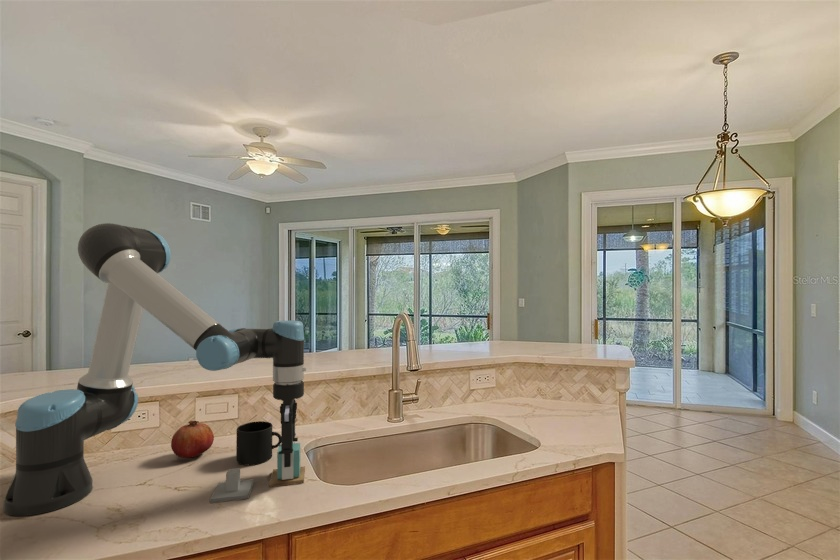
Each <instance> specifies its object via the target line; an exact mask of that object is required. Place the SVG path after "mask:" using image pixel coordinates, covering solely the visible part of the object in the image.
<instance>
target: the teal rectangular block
mask: <svg viewBox="0 0 840 560" xmlns="http://www.w3.org/2000/svg"><path fill="white" fill-rule="evenodd" d="M277 448H278V449H277V452H276V453H277V456H276V459H277V463H276V464H277V466H276V467H277V468H276V469H277V479H282V454H279V451H281V444H280V445H279V446H278V447H277ZM300 467H301V442H293V478H294V477H299V475H300Z"/></svg>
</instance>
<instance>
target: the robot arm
mask: <svg viewBox="0 0 840 560" xmlns="http://www.w3.org/2000/svg"><path fill="white" fill-rule="evenodd" d="M171 252H172V251H171V248H170V246H169V244H168V242H167V240H166V238H164V237H163V236H162V235H160V234H159V233H157V232H154V231H151V230H147V229H145V228H138V227H132V226H127V225H126V226H125V225H121V224H118V223H110V222H109V223H108V222H107V223H106V222H105V223H99V224H96V225H94V226H92V227H89V228H88V229H86V230H85V231H84V232H83V233H82V235H81V236H80V237H79V240H78V242H77V254H78V256H79V259H80V261H81V263H82V264H83V265H84V267H86V269H87V270H88V271H89V272H91V273H92V274H93V275H94V276H95V277H96V278H98V279H99V280H100V281H101V282H103V283H106V284H107V289H106V292H105V297H104V300H103V305H102V309H101V315H100V319H99V323H98V326H97V332H96V337H95V341H94V345H93V348H92V349H93V350H92V355H91V359H90V363H89V366H88V367H89V368H88V372H87V373H86V374H84V375H82V376H81V377H79V379H78V382H77V386H76V388H75V389H74V388H73V389H69V388H68V389H67V388H66V389H61V390H60V389H59V390H55V391H52V392H46V393H42V394H41V393H40V394H38V395H36V396H33V397H31V398H28V399H27V400H25V401H24V402H22V403H21V404H20V405H19V406H18V409H17V413H16V420H15V423H14V424H15V472H14V475H13V478H12V480H11V482H10V485H9V488H8V490H7V492H6V495H5V497H4V501H3V512H4V513H5V514H6V515H8V516H12V517H15V516H16V517H20V516H21V517H25V516H33V515H35V516H36V515H39V514H43V513H48V512H53V511H56V510H59V509H62V508H65V507H67V506H70V505H73V504H75V503H77V502H79V501H81V500H82V499H84V498H86V497H87V496H88V495H89V494H90V493H91V492H92V490H93V483H94V482H93V477H92V474H91V472H90V470H89V467H88V465H87V463H86V461H85V458H84V455H85V454H84V451H85V450H84V448H85V447H84V445H85V444H84V443H85V441H86V440H88V439H89V438H92V437H94V436H97V435H99V434H102V433H104V432H106V431H110V430H113V429H115V428H117V427H119V426H121V425H122V424H123V423H125V422H127V421H128V420H129V419H130V418H131V417H132V416H133V415H134V413H135V412H136V410H137V407H138V404H139V395H138V393H137V392H136V388H135V386H134V385H133V384H134V380H133V378H131V377H130V375H129V372H130V366H131V364H132V363H131V362H132V358H133V353H134V349H135V346H136V345H135V344H136V340H137V335H138V332H139V328H140V327H139V326H140V322H141V319H142V314H143V310H145V311H147V313H149V314H150V315H151V316H153V317H154V318H155V319H157V320H158V321H159V322H160V323H161V324H163V325H164V326H165V327H166V328H167V329H169V330H170V331H171V332H172V333H173V334H175V335H176V336H177V337H179V338H180V339H181V340H183V341H184V342H185V343H186V344H187V345H189V346H190V347H191V348H193V350H195V351H196V353H195V356H196V359H197V361H198V364H199V366H201V367H202V368H203V369H205V370H206V371H210V372H215V371H221V370H227V369H229V368H232V367H233V366H235V365H238V364H241V363H244V362H246V361H249V360H251V359H252V360H253V359H272V381H273V385H272V397H273V399H275V400H277V401H282V403H280V406H279V414H280V424H281V427H280V428H281V430H280V431H281V434H280V435H281V444H280V445H281V451H279V454H282V480H285V479H293V443H297V442H298V441H299V440H298V439H299V437H296V418H297V409H298V402H297V399H300V398H303V396H304V395H305V381H303V380H304V378H305V375H304V374H305V373H304V372H306V371H307V368H306V367H304V365H305V363H304V362H305V357H304V355H305V334H304V332H305V331H304V324H303V322H302V321H301V320H293V319H292V320H276V321H274V322H273V324H272V325H273V326H272V328H245V327H242V328H241V327H240V328H232V329H229V330H227V328H226V327H224V326H222V325H221V324H220V323H219V322H218V321H217V320H216V319H214V318H213V317H212V316H210V314H208V313H207V312H206V311H204V310H203V309H202V308H201V307H199V305H197V304H196V303H194V302H193V300H191V299H189V297H187V296H186V295H185V294H184V293H182V292H181V291H179V289H177V288H176V287H175V286H173V285H172V284H171V283H170V282H169V281H167V280H166V279H165V278H163V277H162V276H161V275H160V273H162V272H163V271H164V270H165V269H167V268H168V266H169V264H170V262H171V255H172V254H171Z"/></svg>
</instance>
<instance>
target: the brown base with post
mask: <svg viewBox="0 0 840 560" xmlns="http://www.w3.org/2000/svg"><path fill="white" fill-rule="evenodd" d="M305 472H306V466H300V475H299V477H294V478H293V479H285V480H282V479H277V468H274V469H272V473H271V476H270V480H269V483H268V484H269V485H268V486H269V488H271V487H279V486H286V485H287V486H288V485H289V486H290V485H300V484H304V482H305V474H306V473H305Z"/></svg>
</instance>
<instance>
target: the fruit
mask: <svg viewBox="0 0 840 560" xmlns="http://www.w3.org/2000/svg"><path fill="white" fill-rule="evenodd" d="M187 423H188V424H185V425H183V426H181V427H180V428H178V429H177V430H176V431H175V433H174V434H173V435H172V438H171V443H170V448H171V450H172V452H173V453H174V455H175V456H177V457H179V458H186V459H191V458H196V457H198V456H200V455H203V454H204V453H205V452H207V451H208V450H209V449H210V448H211V447H212V445H213V443H214V439H215V436H214V433H213V430H212V429H211V427H210V425H208V424H206V423H202V422H199V421H198V420H190V421H188V422H187Z"/></svg>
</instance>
